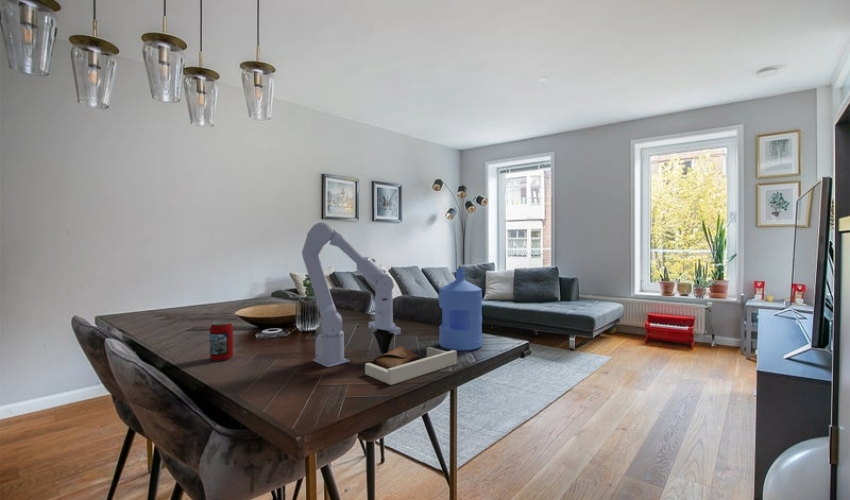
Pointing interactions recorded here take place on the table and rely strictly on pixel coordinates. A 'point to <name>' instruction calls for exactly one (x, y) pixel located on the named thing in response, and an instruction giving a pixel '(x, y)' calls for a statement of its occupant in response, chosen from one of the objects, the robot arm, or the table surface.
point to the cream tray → (413, 367)
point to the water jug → (460, 314)
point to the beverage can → (221, 340)
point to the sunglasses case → (395, 358)
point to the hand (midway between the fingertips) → (384, 352)
